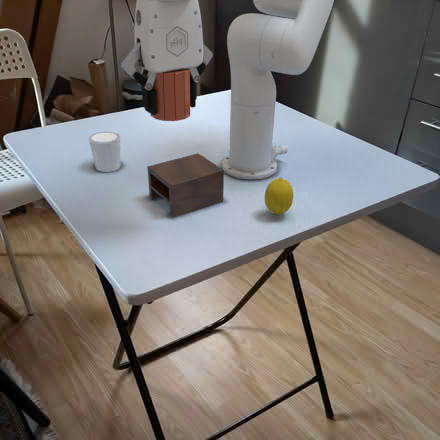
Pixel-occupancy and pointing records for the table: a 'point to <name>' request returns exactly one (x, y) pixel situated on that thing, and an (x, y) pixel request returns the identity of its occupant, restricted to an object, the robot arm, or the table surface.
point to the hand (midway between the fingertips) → (170, 107)
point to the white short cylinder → (105, 150)
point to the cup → (172, 95)
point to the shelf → (186, 183)
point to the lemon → (279, 196)
